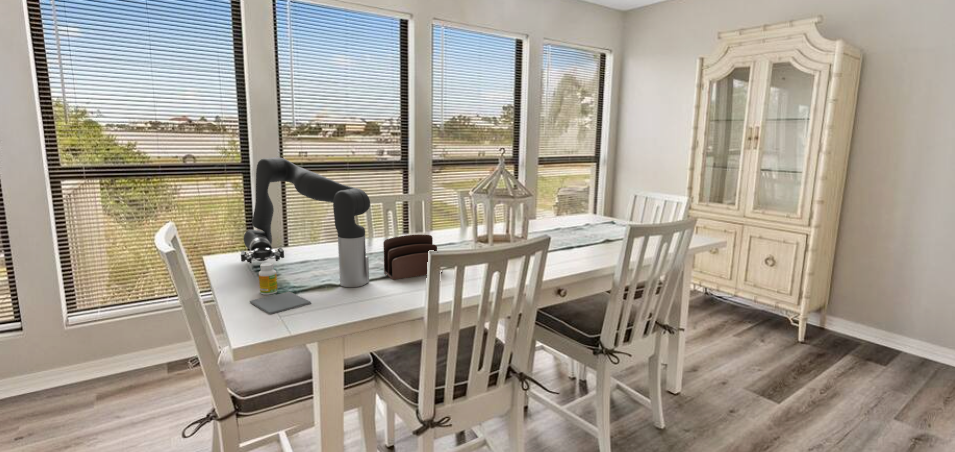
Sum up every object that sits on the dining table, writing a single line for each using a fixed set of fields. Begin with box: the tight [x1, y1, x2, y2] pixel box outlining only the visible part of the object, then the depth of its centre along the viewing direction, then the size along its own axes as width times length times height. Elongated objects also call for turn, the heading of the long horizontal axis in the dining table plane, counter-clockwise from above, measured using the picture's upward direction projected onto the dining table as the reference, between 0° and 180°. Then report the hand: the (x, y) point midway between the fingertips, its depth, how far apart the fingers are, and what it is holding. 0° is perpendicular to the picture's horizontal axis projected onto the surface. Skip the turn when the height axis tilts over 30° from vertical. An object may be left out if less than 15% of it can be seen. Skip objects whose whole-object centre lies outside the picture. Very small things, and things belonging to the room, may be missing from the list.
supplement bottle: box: [258, 262, 278, 296], centre depth 166 cm, size 5×5×10 cm
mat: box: [249, 291, 312, 315], centre depth 157 cm, size 13×14×1 cm
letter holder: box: [383, 234, 443, 281], centre depth 189 cm, size 10×20×14 cm, turn 119°
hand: (264, 259), depth 175 cm, fingers open, 8 cm apart
